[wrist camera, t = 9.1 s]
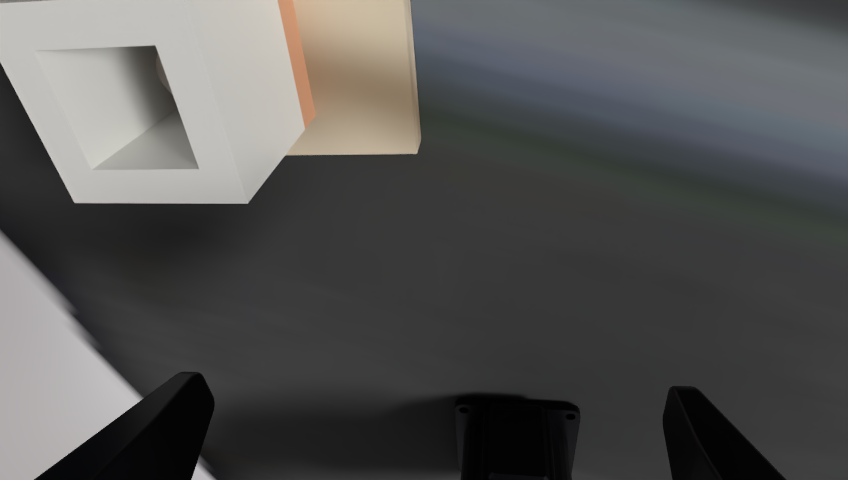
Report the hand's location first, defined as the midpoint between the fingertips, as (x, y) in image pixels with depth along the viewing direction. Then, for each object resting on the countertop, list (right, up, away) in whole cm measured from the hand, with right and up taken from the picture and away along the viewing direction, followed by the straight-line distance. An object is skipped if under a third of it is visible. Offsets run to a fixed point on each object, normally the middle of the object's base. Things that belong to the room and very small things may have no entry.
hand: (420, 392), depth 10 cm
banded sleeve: (-6, +9, +7) cm, 14 cm away
